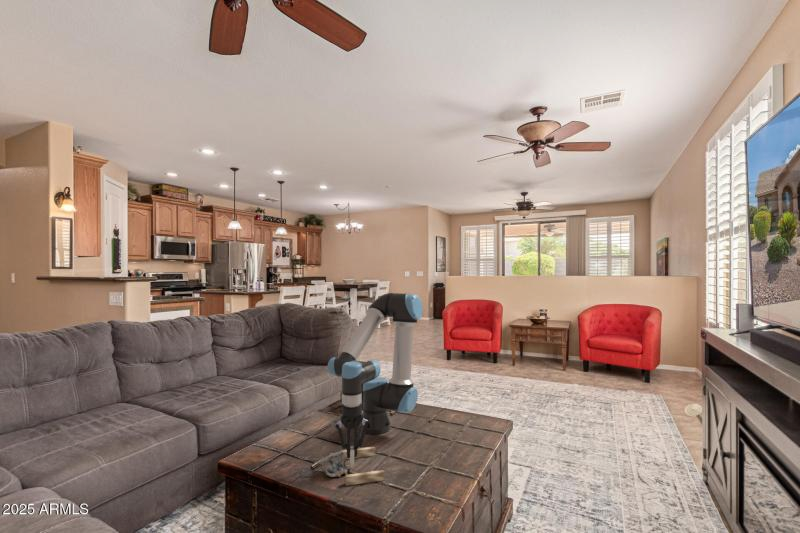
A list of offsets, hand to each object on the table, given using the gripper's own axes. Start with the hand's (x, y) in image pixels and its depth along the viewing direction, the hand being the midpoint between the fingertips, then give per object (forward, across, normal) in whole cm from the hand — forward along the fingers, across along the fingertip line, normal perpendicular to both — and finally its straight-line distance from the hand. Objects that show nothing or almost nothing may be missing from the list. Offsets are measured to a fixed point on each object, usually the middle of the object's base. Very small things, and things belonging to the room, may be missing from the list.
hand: (351, 465), depth 146 cm
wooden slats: (+2, -4, 0) cm, 4 cm away
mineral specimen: (+2, +7, 0) cm, 7 cm away
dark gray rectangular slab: (+2, +16, -1) cm, 16 cm away
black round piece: (+2, -11, -63) cm, 64 cm away
